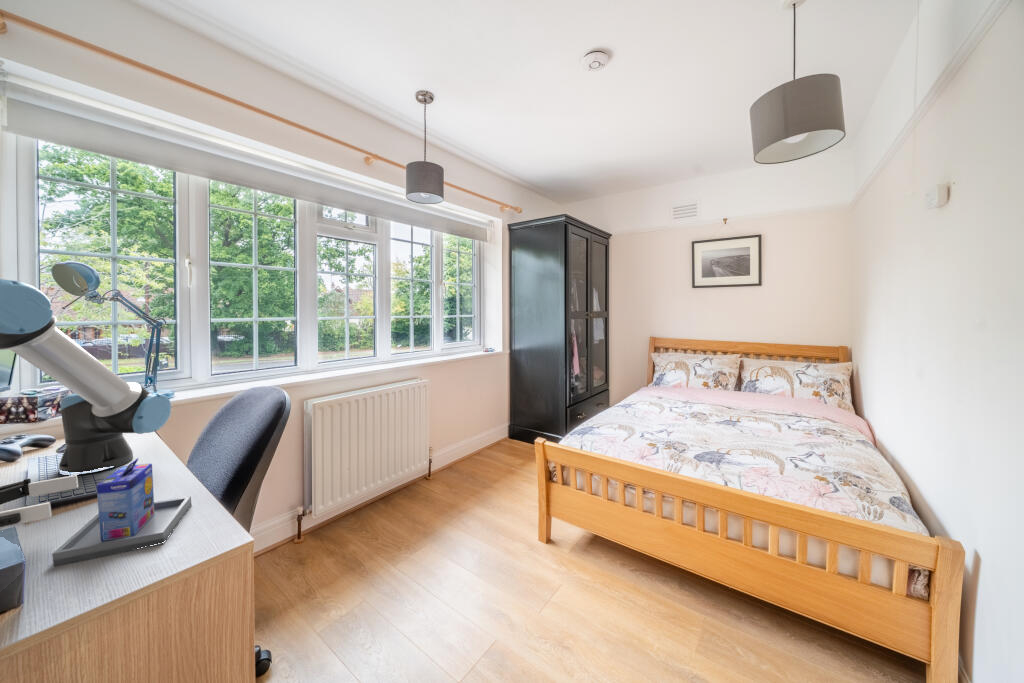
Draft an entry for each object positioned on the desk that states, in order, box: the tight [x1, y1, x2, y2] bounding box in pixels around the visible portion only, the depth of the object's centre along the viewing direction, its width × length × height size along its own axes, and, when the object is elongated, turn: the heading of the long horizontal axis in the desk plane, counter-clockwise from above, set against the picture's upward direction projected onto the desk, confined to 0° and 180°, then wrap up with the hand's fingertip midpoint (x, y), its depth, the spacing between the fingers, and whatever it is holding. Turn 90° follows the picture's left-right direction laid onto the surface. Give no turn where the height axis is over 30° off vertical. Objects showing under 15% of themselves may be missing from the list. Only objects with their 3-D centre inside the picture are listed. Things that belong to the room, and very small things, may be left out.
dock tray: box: [51, 495, 192, 567], centre depth 81 cm, size 16×16×2 cm
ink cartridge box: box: [96, 457, 155, 542], centre depth 80 cm, size 10×6×14 cm, turn 24°
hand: (64, 494), depth 75 cm, fingers open, 13 cm apart
